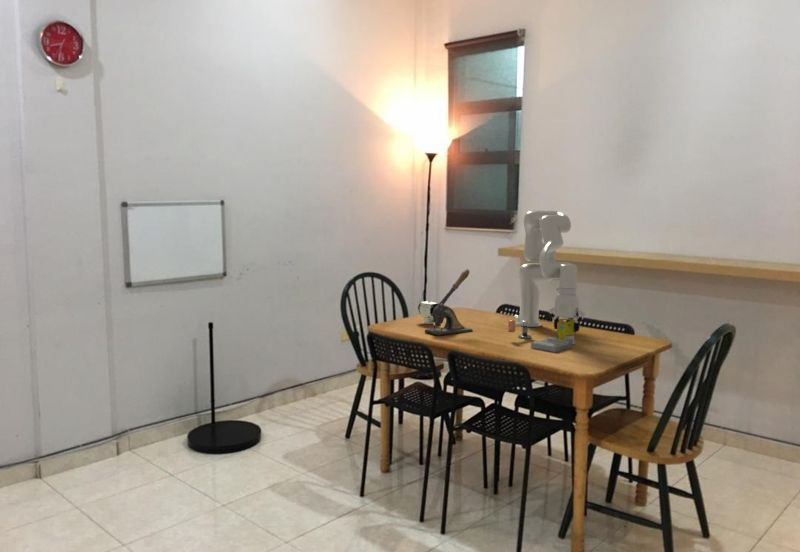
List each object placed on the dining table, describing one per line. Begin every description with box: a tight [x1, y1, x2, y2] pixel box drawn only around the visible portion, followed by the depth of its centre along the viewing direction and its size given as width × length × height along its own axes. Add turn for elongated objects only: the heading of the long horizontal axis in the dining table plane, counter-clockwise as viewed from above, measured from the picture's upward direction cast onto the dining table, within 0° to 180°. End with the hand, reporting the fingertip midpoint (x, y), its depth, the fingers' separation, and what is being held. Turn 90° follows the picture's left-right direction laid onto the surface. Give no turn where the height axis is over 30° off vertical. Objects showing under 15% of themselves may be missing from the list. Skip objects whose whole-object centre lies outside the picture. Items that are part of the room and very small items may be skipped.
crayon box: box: [556, 318, 575, 345], centre depth 292 cm, size 7×3×12 cm, turn 89°
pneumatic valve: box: [417, 300, 439, 325], centre depth 335 cm, size 6×12×12 cm, turn 42°
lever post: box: [517, 326, 532, 340], centre depth 305 cm, size 6×6×6 cm
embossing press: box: [424, 268, 474, 336], centre depth 314 cm, size 11×24×30 cm, turn 123°
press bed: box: [530, 337, 572, 354], centre depth 284 cm, size 12×13×3 cm
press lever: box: [507, 319, 530, 333], centre depth 300 cm, size 4×15×5 cm, turn 136°
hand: (566, 330), depth 291 cm, fingers open, 9 cm apart
